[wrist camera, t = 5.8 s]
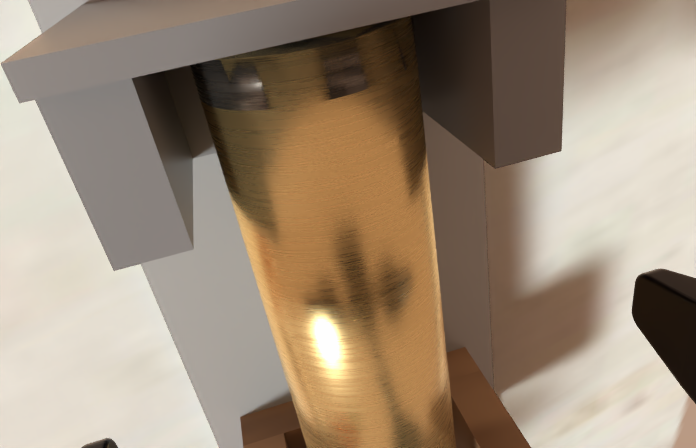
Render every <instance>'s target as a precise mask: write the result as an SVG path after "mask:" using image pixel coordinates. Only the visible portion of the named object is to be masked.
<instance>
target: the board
mask: <svg viewBox="0 0 696 448" xmlns="http://www.w3.org/2000/svg"><path fill="white" fill-rule="evenodd" d="M28 1H29V4H30V6H31V8H32V11H33V13H34V15H35V18H36V20H37V22H38V25H39V27H40V29H41V32H42V33H44V32H45V31H46V30H48V29H49V28H51V27H52V26H53V25H55V24H56V23H58V22H59V21H60V20H62V19H63V18H64V17H66V16H67V15H69V14H70V13H71V12H73V11H74V10H76V9H77V8H78V7H80V6H81V5H82V4H87V3H92V2H97V1H102V0H28ZM422 112H423V111H422ZM423 122H424V132H425V142H426V152H427V162H428V172H429V182H430V192H431V202H432V212H433V222H434V232H435V242H436V252H437V262H438V272H439V282H440V292H441V302H442V312H443V322H444V332H445V342H446V352H450V351H453V350H457V349H460V348H463V347H465V348H466V349H467V351H468V352H469V354H470V355H471V357H472V358H473V360H474V361H475V363H476V364H477V366H478V367H479V369H480V370H481V372H482V374H483V375H484V377H485V378H486V380H487V381H488V383H489V384H490V386H491V387H492V389H493V390H494V385H493V363H492V340H491V317H490V295H489V272H488V250H487V227H486V204H485V182H484V159H482V158H481V157H480V156H479V155H477V154H476V153H475V152H474V151H472V150H471V149H470V148H468V147H467V146H466V145H465V144H463V143H462V142H461V141H460V140H458V139H457V138H456V137H455V136H453V135H452V134H451V133H450V132H448V131H447V130H446V129H444V128H443V127H442V126H441V125H439V124H438V123H437V122H436V121H434V120H433V119H432V118H431V117H429V116H428V115H427V114H426V113H424V112H423ZM193 236H194V250H190V251H186V252H183V253H179V254H175V255H171V256H168V257H164V258H160V259H156V260H153V261H149V262H145V263H141V266H142V268H143V270H144V273H145V275H146V277H147V280H148V282H149V284H150V287H151V289H152V291H153V294H154V296H155V298H156V301H157V303H158V305H159V308H160V310H161V312H162V315H163V317H164V319H165V322H166V324H167V327H168V329H169V331H170V334H171V336H172V338H173V341H174V343H175V345H176V348H177V350H178V352H179V355H180V357H181V359H182V362H183V364H184V366H185V369H186V371H187V373H188V376H189V378H190V380H191V383H192V385H193V387H194V390H195V392H196V394H197V397H198V399H199V401H200V404H201V406H202V408H203V411H204V413H205V415H206V418H207V420H208V422H209V425H210V427H211V429H212V432H213V434H214V436H215V439H216V441H217V444H218V446H219V448H243V440H242V431H241V421H240V417H242V416H245V415H248V414H251V413H255V412H258V411H261V410H264V409H267V408H271V407H274V406H277V405H280V404H283V403H287V402H290V401H292V397H291V394H290V391H289V388H288V384H287V381H286V378H285V374H284V371H283V368H282V365H281V361H280V358H279V355H278V352H277V348H276V345H275V342H274V339H273V335H272V332H271V329H270V325H269V322H268V319H267V316H266V312H265V309H264V306H263V303H262V299H261V296H260V293H259V290H258V286H257V283H256V280H255V276H254V273H253V270H252V267H251V263H250V260H249V257H248V254H247V250H246V247H245V244H244V241H243V237H242V234H241V231H240V227H239V224H238V221H237V218H236V214H235V211H234V208H233V205H232V201H231V198H230V195H229V192H228V188H227V185H226V182H225V178H224V175H223V172H222V169H221V165H220V162H219V159H218V156H217V153H214V154H210V155H206V156H202V157H198V158H194V159H193Z"/></svg>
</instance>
